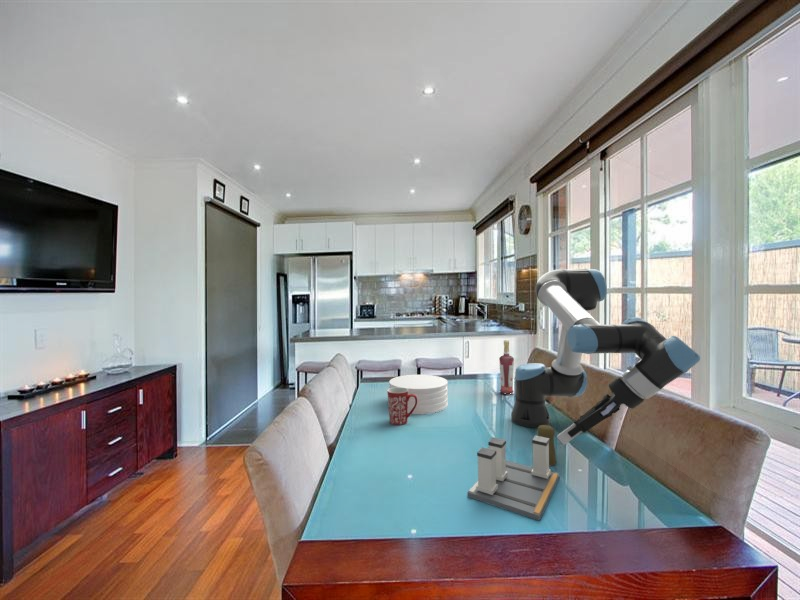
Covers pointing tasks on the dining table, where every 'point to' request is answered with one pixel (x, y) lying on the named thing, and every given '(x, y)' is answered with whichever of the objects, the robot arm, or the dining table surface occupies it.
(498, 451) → the lever mid
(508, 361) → the liquor
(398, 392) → the mug
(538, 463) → the lever
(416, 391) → the plate stack
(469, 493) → the panel
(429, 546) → the dining table surface
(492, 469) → the lever far
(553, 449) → the cork
